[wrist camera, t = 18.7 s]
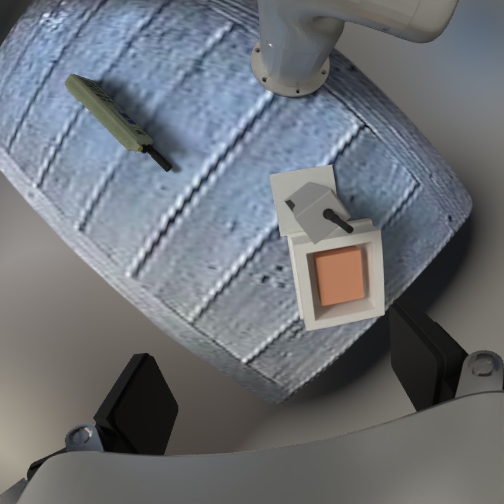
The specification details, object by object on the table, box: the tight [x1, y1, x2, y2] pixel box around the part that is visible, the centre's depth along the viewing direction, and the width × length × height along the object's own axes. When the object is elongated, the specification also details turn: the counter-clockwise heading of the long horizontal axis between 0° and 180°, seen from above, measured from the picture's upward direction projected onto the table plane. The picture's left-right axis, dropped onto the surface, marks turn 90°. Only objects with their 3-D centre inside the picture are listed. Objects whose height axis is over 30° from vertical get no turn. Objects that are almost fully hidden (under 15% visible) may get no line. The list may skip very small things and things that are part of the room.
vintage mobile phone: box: [284, 182, 354, 245], centre depth 34 cm, size 4×5×25 cm
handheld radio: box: [65, 74, 172, 172], centre depth 41 cm, size 7×3×25 cm
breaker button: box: [313, 245, 364, 306], centre depth 46 cm, size 8×7×3 cm
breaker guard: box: [287, 218, 384, 331], centre depth 46 cm, size 15×14×7 cm
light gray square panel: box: [269, 165, 337, 237], centre depth 47 cm, size 10×10×1 cm
